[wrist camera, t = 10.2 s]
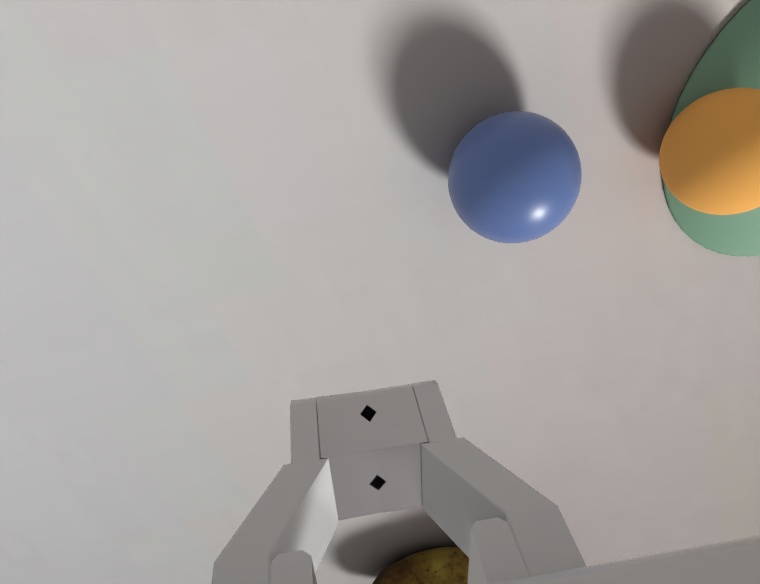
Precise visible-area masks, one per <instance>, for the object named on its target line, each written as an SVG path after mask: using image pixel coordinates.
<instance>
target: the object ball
mask: <svg viewBox="0 0 760 584" xmlns="http://www.w3.org/2000/svg"><path fill="white" fill-rule="evenodd" d="M659 165H660V171H661V175H662V178H663V180H664V182H665V184H666V186H667V188H668V189H669V191H670V192H671V193H672V194H673V195H674V196H675V197H676V198H677V199H678V200H679V201H680V202H682V203H683V204H685V205H686V206H688V207H690V208H692V209H694V210H697V211H700V212H703V213H708V214H714V215H731V214H738V213H743V212H747V211H750V210H753V209H755V208H758V207H760V90H759V89H753V88H730V89H724V90H720V91H716V92H713V93H711V94H708V95H706V96H704V97H702V98H700V99H698V100H696V101H694V102H693V103H692V104H690V105H689V106H688V107H686V108H685V109H684V110H683V111H682V112H681V113H680V114H679V115H678V116H677V117H676V118H675V119H674V120H673V122H672V123H671V125H670V126H669V128H668V129H667V131H666V133H665V135H664V138H663V141H662V144H661V147H660V154H659Z"/></svg>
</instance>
